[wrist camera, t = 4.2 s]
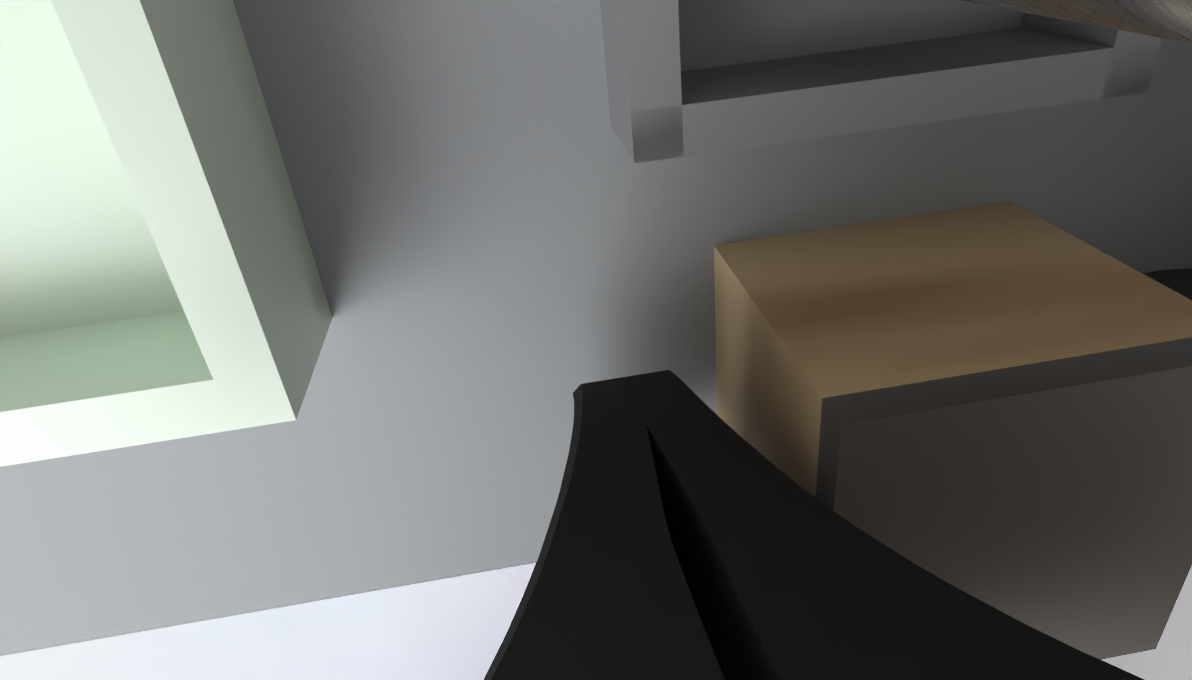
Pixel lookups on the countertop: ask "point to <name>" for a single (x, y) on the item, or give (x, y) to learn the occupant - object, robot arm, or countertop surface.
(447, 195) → the ramp board
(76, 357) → the tray
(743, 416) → the wooden cube
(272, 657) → the countertop surface
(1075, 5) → the pin
